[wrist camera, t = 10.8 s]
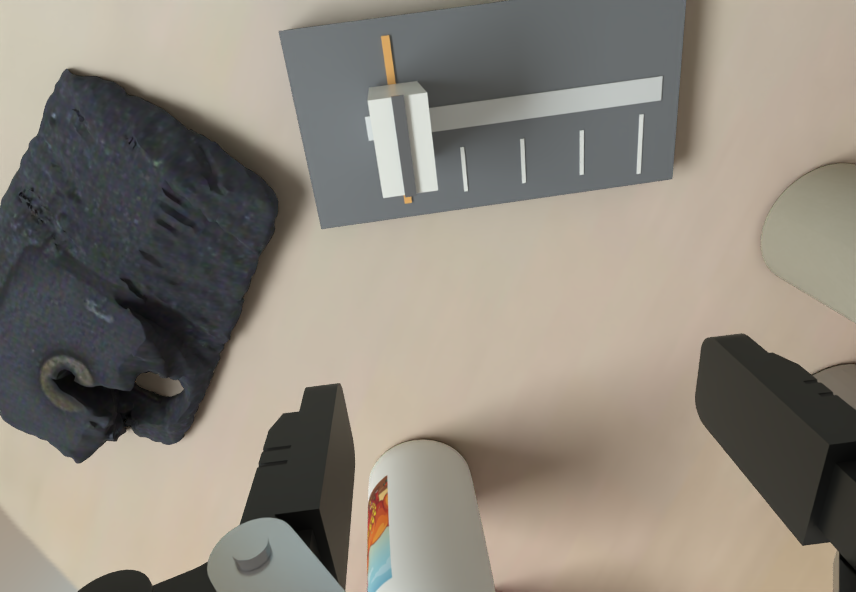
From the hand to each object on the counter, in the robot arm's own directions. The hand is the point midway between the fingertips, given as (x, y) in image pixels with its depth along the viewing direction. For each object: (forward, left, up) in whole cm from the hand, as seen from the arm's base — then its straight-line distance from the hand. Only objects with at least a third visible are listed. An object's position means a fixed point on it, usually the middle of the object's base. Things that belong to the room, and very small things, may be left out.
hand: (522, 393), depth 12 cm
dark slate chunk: (+19, +4, -23) cm, 30 cm away
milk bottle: (+4, +23, -22) cm, 32 cm away
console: (-3, -3, -22) cm, 22 cm away
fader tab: (+2, -3, -19) cm, 20 cm away
